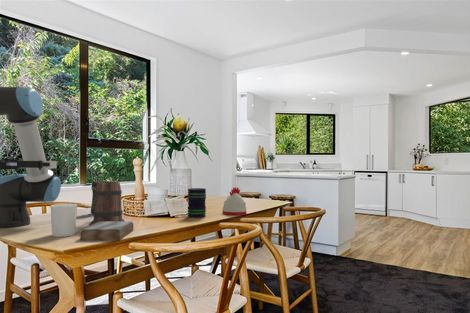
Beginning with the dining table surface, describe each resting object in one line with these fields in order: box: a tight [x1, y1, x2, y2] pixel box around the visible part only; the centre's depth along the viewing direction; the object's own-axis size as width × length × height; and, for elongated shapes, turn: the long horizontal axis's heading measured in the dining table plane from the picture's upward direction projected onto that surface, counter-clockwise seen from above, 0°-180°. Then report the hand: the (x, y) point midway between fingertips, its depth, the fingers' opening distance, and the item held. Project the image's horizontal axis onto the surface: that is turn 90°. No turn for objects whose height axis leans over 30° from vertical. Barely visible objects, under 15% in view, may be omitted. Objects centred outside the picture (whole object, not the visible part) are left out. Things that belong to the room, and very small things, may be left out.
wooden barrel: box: [90, 180, 110, 215], centre depth 198 cm, size 10×8×19 cm
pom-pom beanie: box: [222, 186, 247, 216], centre depth 203 cm, size 14×14×15 cm
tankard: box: [88, 181, 126, 226], centre depth 167 cm, size 24×17×20 cm
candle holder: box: [49, 203, 78, 238], centre depth 142 cm, size 10×10×12 cm
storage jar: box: [187, 187, 207, 219], centre depth 190 cm, size 10×10×15 cm
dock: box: [79, 220, 134, 241], centre depth 142 cm, size 15×18×4 cm
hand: (44, 164), depth 135 cm, fingers open, 13 cm apart
